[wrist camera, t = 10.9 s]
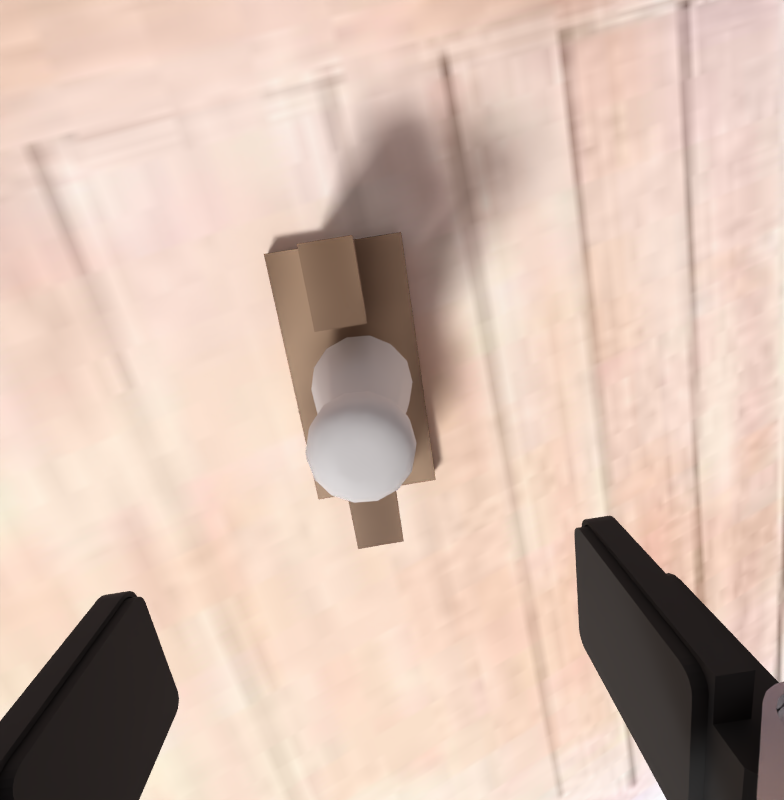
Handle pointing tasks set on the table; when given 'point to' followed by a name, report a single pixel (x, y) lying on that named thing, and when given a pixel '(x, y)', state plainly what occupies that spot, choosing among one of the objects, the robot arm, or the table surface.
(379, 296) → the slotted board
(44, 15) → the table surface
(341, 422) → the salt shaker
